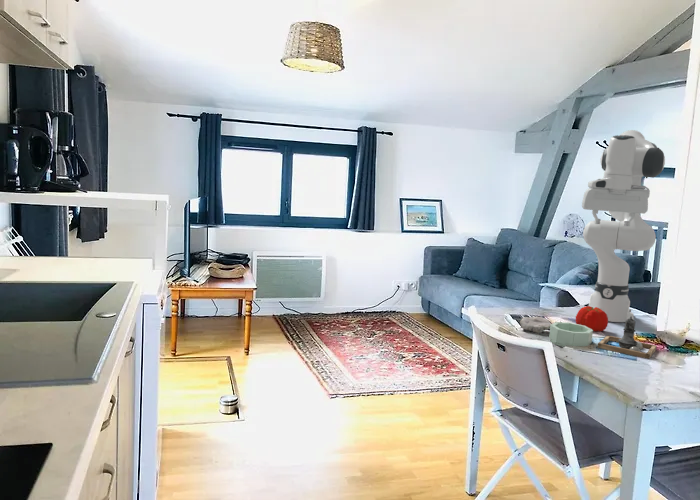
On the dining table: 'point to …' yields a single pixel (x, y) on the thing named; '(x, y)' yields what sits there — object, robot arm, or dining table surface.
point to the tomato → (592, 318)
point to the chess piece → (628, 335)
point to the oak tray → (647, 355)
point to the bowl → (570, 334)
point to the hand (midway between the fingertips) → (611, 225)
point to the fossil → (535, 324)
